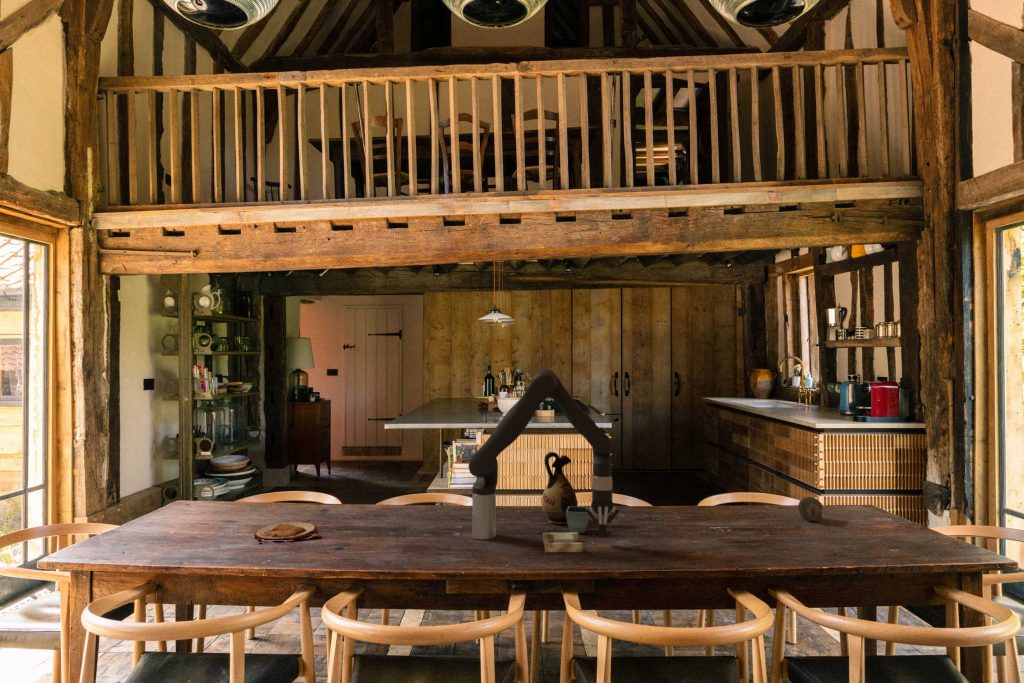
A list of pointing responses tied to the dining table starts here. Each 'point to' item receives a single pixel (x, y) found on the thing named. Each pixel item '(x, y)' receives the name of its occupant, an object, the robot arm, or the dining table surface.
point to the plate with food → (287, 531)
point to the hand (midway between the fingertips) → (602, 533)
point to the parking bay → (562, 544)
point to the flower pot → (577, 519)
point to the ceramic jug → (557, 491)
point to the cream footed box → (562, 537)
